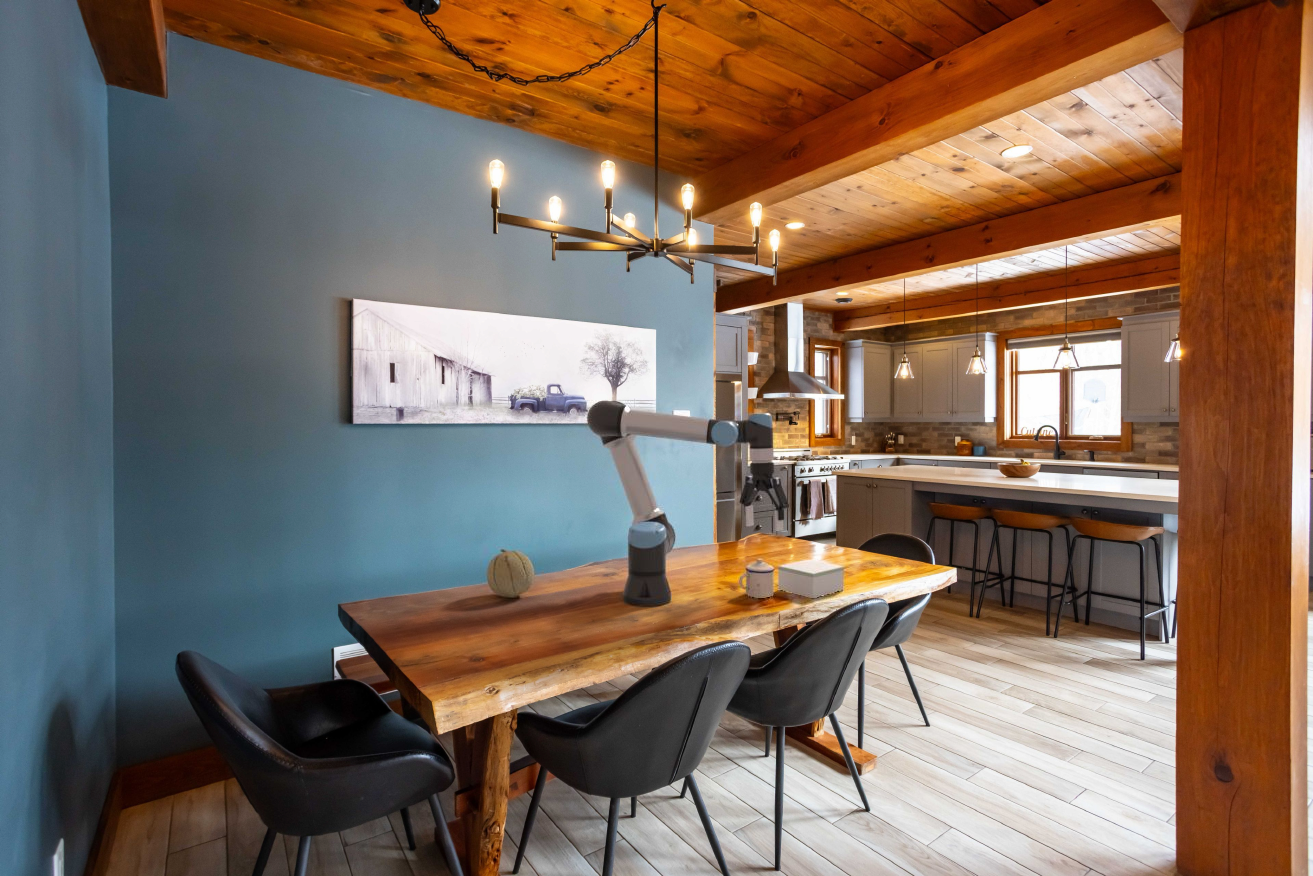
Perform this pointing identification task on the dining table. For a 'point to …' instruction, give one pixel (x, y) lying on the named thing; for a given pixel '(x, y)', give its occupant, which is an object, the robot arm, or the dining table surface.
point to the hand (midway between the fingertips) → (764, 528)
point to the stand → (810, 578)
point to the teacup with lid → (758, 579)
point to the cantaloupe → (510, 573)
